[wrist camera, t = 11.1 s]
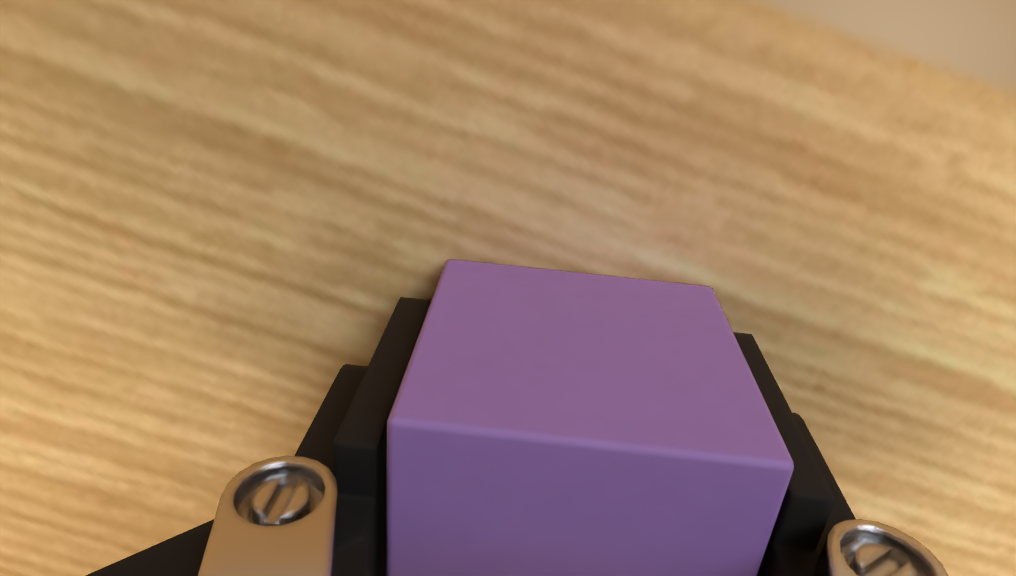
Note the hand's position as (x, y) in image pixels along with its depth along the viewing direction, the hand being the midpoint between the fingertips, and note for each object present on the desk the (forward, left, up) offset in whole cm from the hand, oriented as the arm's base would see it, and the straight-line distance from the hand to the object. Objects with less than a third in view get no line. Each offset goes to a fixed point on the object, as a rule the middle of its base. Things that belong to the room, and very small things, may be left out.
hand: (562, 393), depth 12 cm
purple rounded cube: (0, 0, 0) cm, 0 cm away
